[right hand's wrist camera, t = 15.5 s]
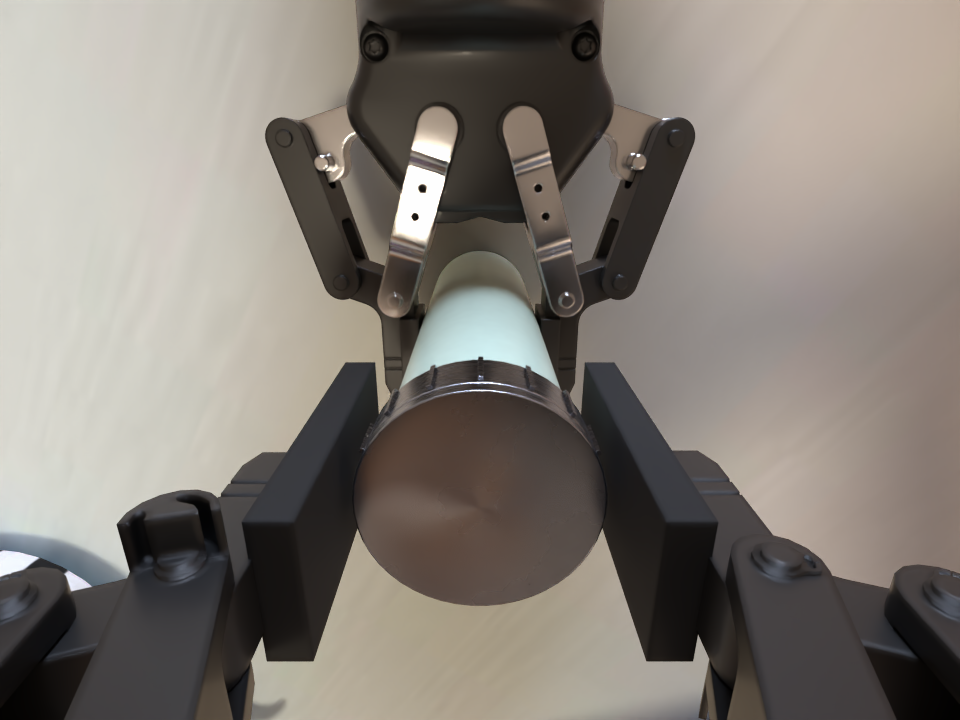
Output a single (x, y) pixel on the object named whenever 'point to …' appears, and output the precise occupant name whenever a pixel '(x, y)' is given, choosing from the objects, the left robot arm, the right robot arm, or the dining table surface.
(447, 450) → the lid
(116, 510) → the dining table surface
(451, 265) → the pale green cylinder
